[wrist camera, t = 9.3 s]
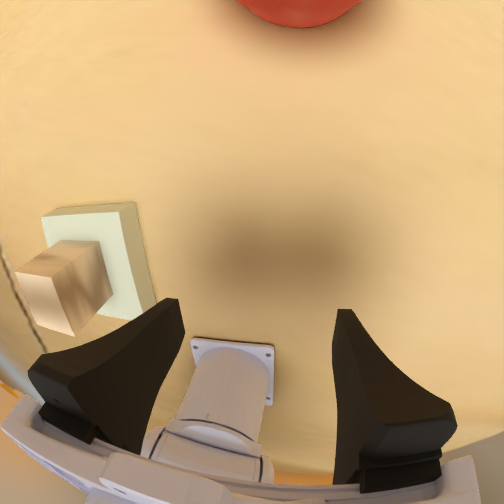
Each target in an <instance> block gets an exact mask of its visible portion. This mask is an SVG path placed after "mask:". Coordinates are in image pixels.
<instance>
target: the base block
mask: <svg viewBox="0 0 504 504" xmlns="http://www.w3.org/2000/svg"><path fill="white" fill-rule="evenodd" d="M40 218H41V222H42V226H43V230H44V234H45V238H46V242H47V245H48V248H49V247H51V246H52V245H54V244H56V243H57V242H59V241H60V240H63V241H99V243H100V247H101V251H102V255H103V259H104V263H105V266H106V270H107V274H108V277H109V281H110V284H111V288H112V291H113V295H112V296H111V297H110V299H109V300H108V301H107V302H106V303H105V304H104V305H103V306H102V307H101V308H100V309H99V310H98V312H97V313H96V314H100V315H105V316H111V317H116V318H122V319H127V320H133V319H135V318H136V317H138V316H139V315H141V314H142V313H144V312H145V311H147V310H148V309H150V308H151V307H153V306H154V305H156V304H157V303H156V299H155V295H154V291H153V287H152V283H151V279H150V274H149V270H148V266H147V261H146V256H145V252H144V247H143V242H142V236H141V231H140V226H139V220H138V214H137V208H136V202H133V203H118V204H104V205H91V206H80V207H69V208H59V209H55V210H53V211H51V212H49V213H47V214H45V215H43V216H42V217H40Z"/></svg>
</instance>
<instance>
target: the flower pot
mask: <svg viewBox="0 0 504 504" xmlns="http://www.w3.org/2000/svg"><path fill="white" fill-rule="evenodd" d="M236 1H238V2H239V3H240V4H242V5H243V6H245V7H246V8H248V9H249V10H250V11H252V12H253V13H254V14H256V15H257V16H259V17H260V18H262V19H264V20H266V21H269V22H271V23H274V24H277V25H281V26H286V27H296V28H304V27H314V26H319V25H323V24H326V23H328V22H331V21H333V20H335V19H336V18H338V17H339V16H341V15H342V14H343V13H345V12H346V11H348V10H349V9H350V8H352V7H353V6H355V5H356V4H358V3H359V2H360V1H362V0H236Z"/></svg>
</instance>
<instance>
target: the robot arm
mask: <svg viewBox="0 0 504 504" xmlns="http://www.w3.org/2000/svg"><path fill="white" fill-rule="evenodd" d="M184 335H185V329H184V325H183V320H182V315H181V311H180V306H179V301H178V299H172V298H166V299H164V300H162V301H160V302H159V303H157V304H156V305H154V306H153V307H151V308H150V309H148V310H147V311H145V312H144V313H142V314H141V315H139V316H138V317H136V318H135V319H133V320H132V321H130V322H128V323H127V324H125V325H123V326H122V327H120V328H119V329H117V330H115V331H113V332H111V333H109V334H107V335H105V336H103V337H101V338H99V339H96V340H94V341H91V342H89V343H86V344H84V345H81V346H78V347H75V348H71V349H67V350H64V351H59V352H54V353H49V354H42V355H41V356H40V357H39V358H38V359H37V361H36V362H35V363H34V364H33V365H32V366H31V368H30V369H29V370H28V377H29V379H30V381H31V382H32V384H33V386H34V387H35V388H36V390H37V391H38V393H39V394H40V395H41V397H42V398H43V399H44V401H45V403H44V405H43V406H42V405H41V404H40V403H39V402H37V401H36V400H34V399H32V398H31V397H29V396H28V395H26V394H24V395H23V396H22V397H21V399H20V400H19V401H18V403H17V404H16V405H15V406H14V408H13V409H12V411H11V412H10V413H9V415H8V416H7V417H6V419H5V420H4V421H3V423H2V424H1V426H0V427H1V429H2V430H3V431H4V432H5V433H6V434H7V435H8V436H9V437H10V438H11V439H12V440H13V441H14V442H15V443H16V444H17V445H18V446H20V447H21V448H22V449H23V450H24V451H25V452H26V453H27V454H28V455H30V456H31V457H32V458H34V459H35V460H36V461H38V462H39V463H41V464H42V465H43V466H45V467H46V468H48V469H49V470H50V471H52V472H53V473H55V474H56V475H58V476H59V477H61V478H62V479H64V480H66V481H67V482H69V483H70V484H72V485H74V486H75V487H77V488H79V489H80V490H82V491H84V492H86V493H87V494H89V495H88V497H87V499H86V501H85V504H481V499H480V493H479V487H478V482H477V477H476V472H475V468H474V463H473V459H472V456H471V455H469V456H465V457H462V458H458V459H455V460H451V461H448V462H446V463H444V464H442V465H440V461H439V458H441V457H442V451H441V447H442V446H443V445H444V444H445V443H446V442H447V441H448V440H449V439H450V438H451V437H452V435H453V434H454V433H455V431H456V429H457V422H456V419H455V415H454V412H453V409H452V407H451V405H450V403H448V402H447V401H445V400H443V399H441V398H439V397H437V396H435V395H434V394H432V393H430V392H429V391H427V390H426V389H424V388H423V387H421V386H420V385H418V384H417V383H416V382H414V381H413V380H412V379H410V378H409V377H408V376H407V375H405V374H404V373H403V372H402V371H401V370H400V369H399V368H397V367H396V366H395V365H394V364H393V363H392V362H391V361H390V360H389V359H388V358H387V356H386V355H385V354H384V353H383V352H382V351H381V349H380V348H379V347H378V346H377V345H376V343H375V342H374V341H373V339H372V338H371V337H370V335H369V334H368V333H367V331H366V330H365V328H364V327H363V325H362V324H361V322H360V321H359V319H358V318H357V316H356V315H355V313H354V312H353V310H352V309H338V311H337V318H336V324H335V330H334V335H333V341H332V366H333V374H334V382H335V391H336V399H337V443H336V457H335V468H334V477H333V485H288V484H273V482H274V468H273V465H272V464H271V462H270V460H269V458H268V457H266V456H262V455H261V451H262V444H259V443H258V439H259V433H260V428H261V422H262V417H263V411H264V406H265V405H266V406H270V405H272V404H273V390H274V347H273V346H271V345H262V344H250V343H239V342H228V341H219V340H210V339H202V338H192V339H191V341H190V345H191V349H192V353H193V357H194V362H195V366H196V369H195V372H194V374H193V376H192V379H191V381H190V384H189V386H188V388H187V391H186V393H185V395H184V398H183V400H182V403H181V405H180V407H179V410H178V412H177V414H176V417H175V419H173V418H170V420H169V423H168V425H167V427H166V428H165V427H163V426H156V427H155V428H153V429H150V430H149V431H148V432H147V433H146V435H145V432H146V428H147V424H148V421H149V418H150V415H151V411H152V408H153V405H154V403H155V400H156V397H157V394H158V392H159V389H160V387H161V385H162V383H163V381H164V379H165V377H166V375H167V373H168V371H169V369H170V368H171V366H172V364H173V362H174V360H175V358H176V356H177V354H178V352H179V350H180V347H181V344H182V341H183V338H184ZM196 346H197V347H196ZM267 353H269V354H267Z"/></svg>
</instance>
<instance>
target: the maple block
mask: <svg viewBox="0 0 504 504" xmlns="http://www.w3.org/2000/svg"><path fill="white" fill-rule="evenodd" d="M15 273H16V276H17V279H18V281H19V284H20V287H21V289H22V292H23V294H24V297H25V299H26V301H27V304H28V306H29V308H30V311H31V313H32V315H33V317H34V319H35V321H36V324H37V325H40V326H43V327H46V328H49V329H52V330H55V331H58V332H61V333H65V334H68V335H71V336H74V337H75V336H76V335H77V334H78V333H79V332H80V331H81V329H82V328H83V327H84V326H85V325H86V324H87V323H88V321H89V320H90V319H91V318H92V317H93V316H94V315H95V314H96V313H97V312H98V310H99V309H100V308H101V307H102V306H103V305H104V304H105V303H106V302H107V301H108V300H109V299H110V297H111V296H112V295H113V291H112V288H111V284H110V281H109V277H108V274H107V270H106V266H105V263H104V259H103V255H102V251H101V247H100V243H99V241H63V240H60V241H59V242H57V243H56V244H54V245H52V246H51V247H49V248H48V249H46V250H45V251H43V252H42V253H41V254H39V255H38V256H36V257H35V258H33V259H32V260H30V261H29V262H28V263H26V264H25V265H23V266H22V267H21V268H19V269H18V270H17V271H15Z"/></svg>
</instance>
